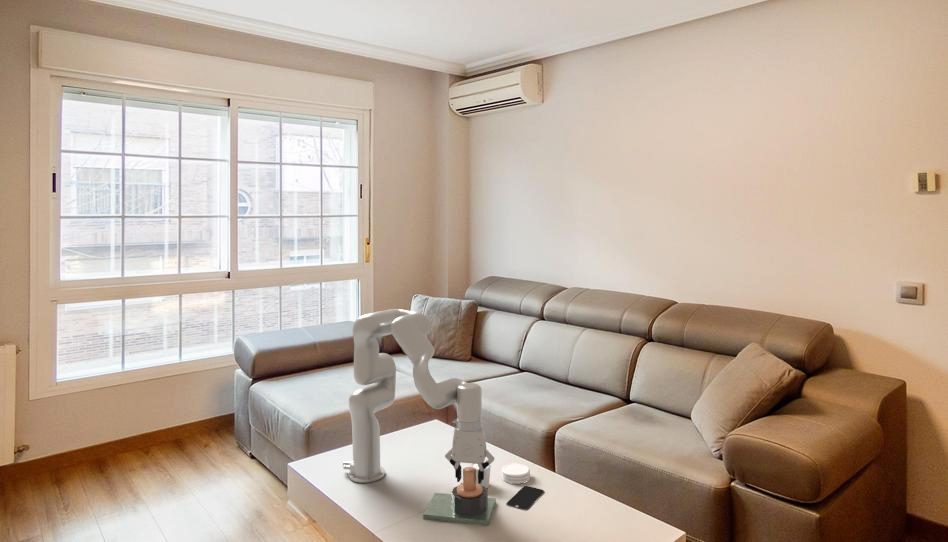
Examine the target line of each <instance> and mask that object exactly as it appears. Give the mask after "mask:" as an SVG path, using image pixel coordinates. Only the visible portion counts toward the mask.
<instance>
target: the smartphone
mask: <svg viewBox="0 0 948 542" xmlns="http://www.w3.org/2000/svg"><path fill="white" fill-rule="evenodd" d="M544 494H545V490H544V489H541V488H537V487H533V486H528V485H524V486H522V487H521V488H520V489H519V490H518V491H517V493H515V494H514V495H513V496H512V497H511V498H510V499H509V500H508V501H507V502H506V503H505V505H506V506H507V507H510V508H514V509H518V510H521V511H529V510H530V508H531V507H532V506H533V505H534V504H535V503H536V502H537V501H538V500H539V499H540V498H541V497H540V496H543V495H544ZM539 497H540V498H539ZM538 498H539V499H538ZM537 499H538V500H537ZM536 500H537V501H536ZM535 501H536V502H535Z"/></svg>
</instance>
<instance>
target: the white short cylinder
mask: <svg viewBox="0 0 948 542" xmlns="http://www.w3.org/2000/svg"><path fill="white" fill-rule="evenodd" d="M501 479H502V481H503V482H505V483H508V484H511V483H512V484H513V485H521V484H520V483H523V484H525V483H524V482H526V481H528V480H529V481H530V480H531V469H530V467H529V466H527V465H525V464H522V463H512V462H511V463H508V464H505V465H504V466H502V468H501ZM529 481H528V482H529ZM526 483H527V482H526Z"/></svg>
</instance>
